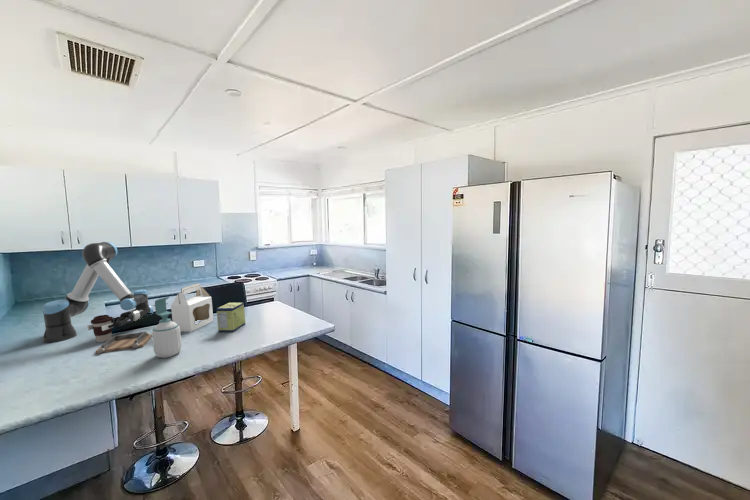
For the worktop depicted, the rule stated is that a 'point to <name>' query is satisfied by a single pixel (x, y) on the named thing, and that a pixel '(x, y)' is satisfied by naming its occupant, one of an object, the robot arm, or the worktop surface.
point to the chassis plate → (125, 342)
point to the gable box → (192, 308)
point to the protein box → (230, 317)
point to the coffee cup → (97, 328)
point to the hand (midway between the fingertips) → (95, 328)
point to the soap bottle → (165, 333)
